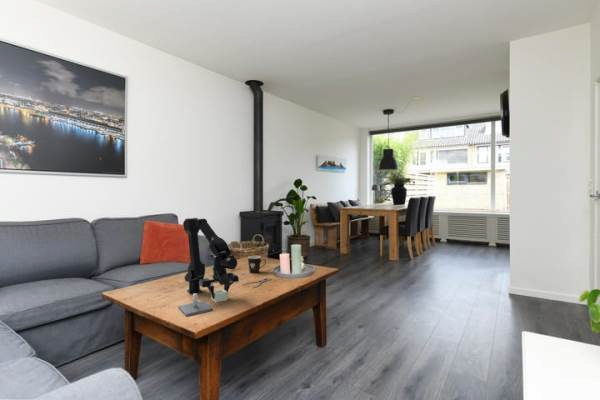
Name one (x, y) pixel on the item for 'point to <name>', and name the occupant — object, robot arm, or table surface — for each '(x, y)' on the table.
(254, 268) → the coffee mug
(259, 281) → the pliers
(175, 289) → the table surface
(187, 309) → the post stand
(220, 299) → the hollow square sleeve
